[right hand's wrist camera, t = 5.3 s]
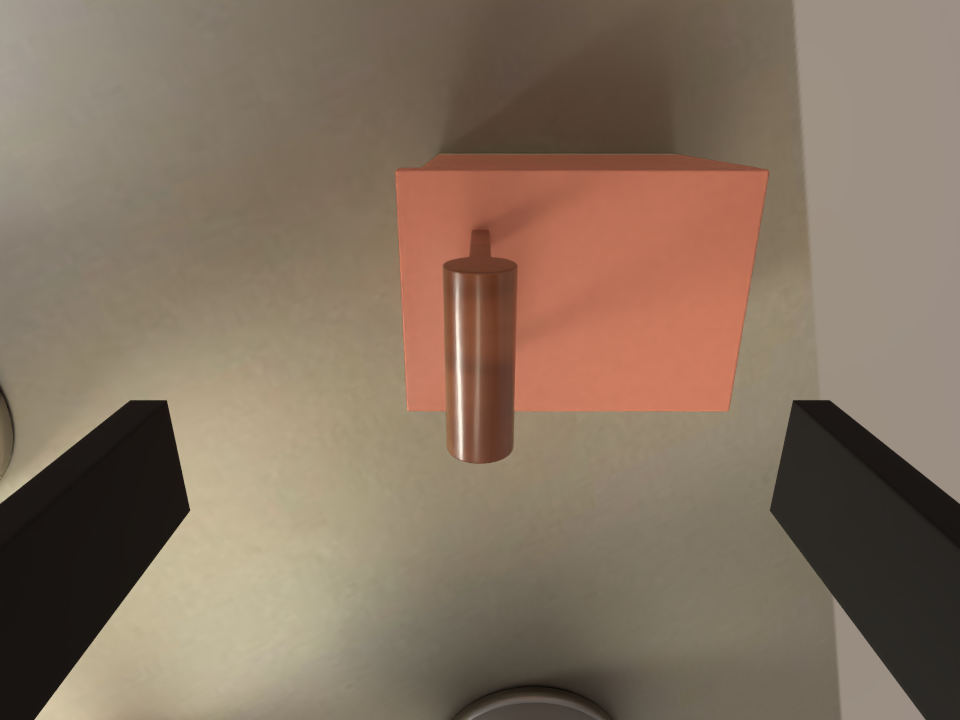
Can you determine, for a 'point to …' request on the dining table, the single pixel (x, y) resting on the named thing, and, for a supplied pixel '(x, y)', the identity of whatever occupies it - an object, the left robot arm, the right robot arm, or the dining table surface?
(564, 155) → the chest
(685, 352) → the lid
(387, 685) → the dining table surface
